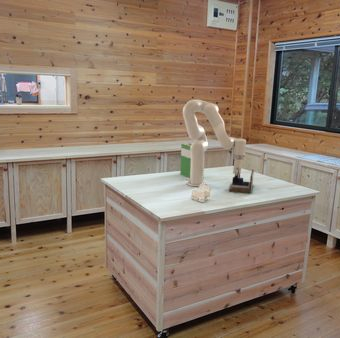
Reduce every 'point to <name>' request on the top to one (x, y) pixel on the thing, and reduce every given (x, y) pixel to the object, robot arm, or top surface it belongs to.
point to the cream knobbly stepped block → (199, 195)
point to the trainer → (240, 184)
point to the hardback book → (185, 160)
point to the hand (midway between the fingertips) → (236, 181)
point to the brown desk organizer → (244, 190)
